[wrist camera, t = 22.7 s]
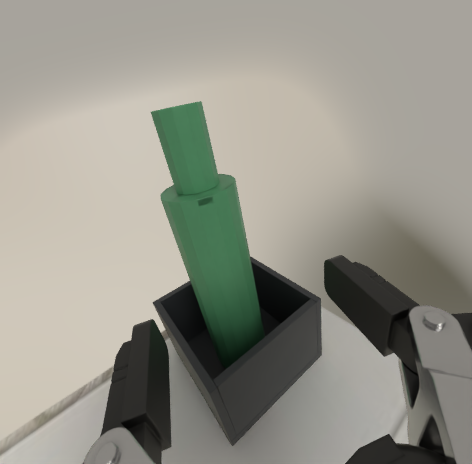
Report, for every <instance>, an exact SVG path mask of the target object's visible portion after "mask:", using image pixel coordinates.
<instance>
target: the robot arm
mask: <svg viewBox="0 0 472 464" xmlns="http://www.w3.org/2000/svg"><path fill="white" fill-rule="evenodd" d="M324 285H325V289H326V292H327V294H328V296H329V297H330V298H331V299H332V300H333V301H334V302H335V304H336V305H337V306H338V307H339V308H340V309H341V310H342V311H343V312H344V314H346V316H347V317H348V318H349V319H350V320H351V321H352V322H353V323H354V324H355V326H356V327H357V328H358V329H359V330H360V331H361V332H362V333H363V334H364V335H365V336H366V338H367V339H368V340H369V341H370V342H371V343H372V344H373V345H374V346H375V347H376V349H377V350H378V351H379V352H380V353H381V354H382V355H383V356H384V357H385V356H387V355H389V354H392V353H395V354H396V355H397V356H398V357H399V361H398V362H399V369H400V374H401V380H402V385H403V391H404V397H405V402H406V408H407V415H408V425H407V430H408V442H409V444H399V443H395V442H394V440H393V439H392V437H391V436H390V435H389V434H388V435H385V436H383V437H381V438H379V439H377V440H375V441H373V442H371V443H369V444H367V445H365V446H363V447H361V448H359V449H358V450H357V451H356V452H355V453H354V455H353V456H352V457H351V458H350V459H349V460H348V461H347V462H346V463H345V464H472V313H462V314H450V313H448V312H446V311H444V310H442V309H439V308H437V307H433V306H426V305H423V306H420V305H419V304H417V303H416V302H414V301H413V300H412V299H411V298H409V297H408V296H406V295H405V294H404V293H402V292H401V291H400V290H398V289H397V288H396V287H394V286H393V285H392V284H390V283H389V282H388V281H387V282H386V281H385V279H383V278H382V277H381V276H380V275H379V276H378V275H377V273H376V272H374V271H373V270H372V269H370V268H369V267H367V266H365V265H362V264H360V263H357V262H354V263H352V262H350V261H349V260H348V259H346V258H345V257H344V256H342V255H339V256H337V257H334V258H331V259H328V260H326V261H325V263H324ZM111 381H112V384H111V386H110V391H109V396H108V402H107V407H106V412H105V418H104V423H103V428H102V432H101V435H100V438H99V439H98V440H97V441H96V442H95V443H94V444H93V445H92V447H91V448H90V450H89V452H88V453H87V455H86V457H85V460H84V462H83V464H161V451H163V450H165V449H168V448H170V447H171V419H170V385H169V355H168V349H167V345H166V343H165V340H164V338H163V336H162V335H161V333H160V331H159V329H158V327H157V325H156V323H155V321H154V320H153V319H152V320H148V321H146V322H143V323H140V324H137V325H135V326H134V327H133V332H132V340H131V341H128V342H125V343H123V345H122V347H121V348H120V350H119V352H118V354H117V356H116V359H115V364H114V372H113V375H112V380H111Z"/></svg>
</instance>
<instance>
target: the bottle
mask: <svg viewBox="0 0 472 464" xmlns="http://www.w3.org/2000/svg"><path fill="white" fill-rule="evenodd" d="M151 114H152V117H153V121H154V124H155V126H156V130H157V133H158V136H159V139H160V142H161V145H162V149H163V152H164V154H165V158H166V161H167V164H168V167H169V170H170V173H171V177H172V180H173V183H174V185H173V186H171V187H169V188H167V189H166V190H165V191H164V192H163V193H162V194H161V201H162V203H163V206H164V209H165V212H166V215H167V217H168V220H169V223H170V226H171V228H172V231H173V234H174V237H175V240H176V242H177V245H178V248H179V251H180V253H181V256H182V259H183V262H184V265H185V267H186V270H187V273H188V276H189V278H190V281H191V284H192V287H193V290H194V292H195V295H196V298H197V301H198V303H199V306H200V309H201V312H202V315H203V317H204V320H205V323H206V326H207V328H208V331H209V334H210V337H211V340H212V342H213V345H214V348H215V351H216V353H217V356H218V359H219V361H220V363H221V364H222V365H223V366H224V367H225V368H226V369H227V368H228V367H229V366H231V365H232V364H233V363H234V362H235V361H237V360H238V359H239V358H240V357H241V356H243V355H244V354H245V353H246V352H247V351H249V350H250V349H251V348H252V347H253V346H255V345H256V344H257V343H258V342H259V341H261V340H262V339H263V338H264V337H265V333H264V328H263V322H262V317H261V312H260V307H259V301H258V296H257V291H256V286H255V281H254V275H253V270H252V265H251V260H250V254H249V249H248V244H247V239H246V233H245V228H244V223H243V218H242V212H241V208H240V202H239V197H238V192H237V187H236V181H235V178H234V177H232V176H231V175H225V174H218V173H217V169H216V164H215V160H214V155H213V151H212V147H211V142H210V138H209V133H208V129H207V124H206V120H205V116H204V111H203V106H202V102H201V101H200V102H195V103H190V104H185V105H180V106H175V107H170V108H166V109H161V110H157V111H152V112H151Z"/></svg>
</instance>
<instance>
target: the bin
mask: <svg viewBox="0 0 472 464" xmlns="http://www.w3.org/2000/svg"><path fill="white" fill-rule="evenodd" d="M250 260H251V265H252V270H253V275H254V281H255V286H256V291H257V296H258V301H259V307H260V312H261V317H262V322H263V328H264V333H265V337H264V338H263V339H262V340H261V341H259V342H258V343H257V344H256V345H255V346H253V347H252V348H251V349H250V350H249V351H247V352H246V353H245V354H244V355H243V356H241V357H240V358H239V359H238V360H237V361H235V362H234V363H233V364H232V365H231V366H229V367H228V368H227V369H226V368H225V367H224V366H223V365H222V364H221V363H220V361H219V359H218V356H217V353H216V351H215V348H214V345H213V342H212V340H211V337H210V334H209V331H208V328H207V326H206V323H205V320H204V317H203V315H202V312H201V309H200V306H199V303H198V301H197V298H196V295H195V292H194V290H193V287H192V284H191V281H189V282H187V283H185V284H184V285H182V286H180V287H178V288H177V289H175V290H173V291H172V292H170V293H168V294H167V295H165V296H163V297H161V298H160V299H159V300H156V301H155V302H153V304H154V306H155V308H156V310H157V312H158V315H159V317H160V318H161V321H162V323H163V325H164V327H165V329H166V331H167V333H168V335H169V337H170V339H171V341H172V343H173V345H174V347H175V349H176V351H177V353H178V355H179V356H180V358H181V360H182V362H183V363H184V365H185V367H186V368H187V370H188V372H189V373H190V375H191V377H192V379H193V380H194V382H195V384H196V385H197V387H198V389H199V390H200V392H201V394H202V395H203V397H204V399H205V401H206V402H207V404H208V406H209V407H210V409H211V411H212V412H213V414H214V416H215V418H216V419H217V421H218V423H219V424H220V426H221V428H222V429H223V431H224V433H225V434H226V436H227V438H228V440H229V441H230V443H231V445H232V446H233V445H234V444H235V443H236V442H237V441H238V440H239V439H240V438H241V437H242V436H243V435H244V434H245V433H246V432H247V431H248V430H249V429H250V428H251V427H252V426H253V425H254V424H255V422H256V421H257V420H258V419H259V418H260V417H261V416H262V415H263V414H264V413H265V412H266V411H267V410H268V409H269V408H270V407H271V406H272V405H273V404H274V403H275V402H276V401H277V400H278V399H279V398H280V397H281V396H282V395H283V394H284V393H285V392H286V391H287V390H288V389H289V388H290V387H291V386H292V385H293V384H294V383H295V382H296V380H297V379H298V378H299V377H300V376H301V375H302V374H303V373H304V372H305V371H306V370H307V369H308V368H309V367H310V366H311V365H312V364H313V363H314V362H315V361H316V360H317V359H318V358H319V357H320V356H321V355H322V343H321V299H320V298H319V297H317V296H316V295H314V294H312V293H311V292H309V291H307V290H306V289H304V288H302V287H301V286H299V285H297V284H296V283H294V282H292V281H291V280H289V279H287V278H286V277H284V276H282V275H280V274H279V273H277V272H276V271H274V270H272V269H271V268H269V267H267V266H265V265H264V264H262V263H260V262H259V261H257V260H255V259H254V258H252V257H250Z"/></svg>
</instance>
